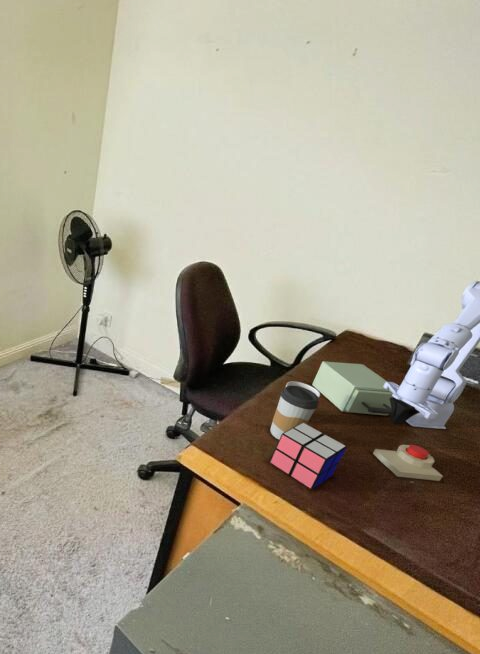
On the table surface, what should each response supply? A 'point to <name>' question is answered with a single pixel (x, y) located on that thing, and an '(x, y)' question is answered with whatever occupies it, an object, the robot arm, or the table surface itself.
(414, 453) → the button
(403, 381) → the robot arm
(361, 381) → the mint drawer box
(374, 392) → the pull-out drawer
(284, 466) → the puzzle cube
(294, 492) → the table surface
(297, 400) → the coffee cup
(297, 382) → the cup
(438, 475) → the control block
